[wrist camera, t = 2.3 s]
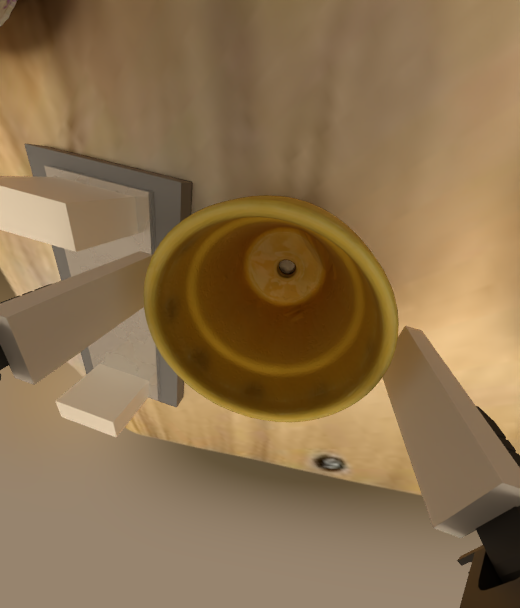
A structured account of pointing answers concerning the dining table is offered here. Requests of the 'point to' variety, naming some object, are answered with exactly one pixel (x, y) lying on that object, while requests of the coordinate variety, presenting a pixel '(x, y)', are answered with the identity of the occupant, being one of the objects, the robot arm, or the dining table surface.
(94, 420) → the mounted modules
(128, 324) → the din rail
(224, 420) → the dining table surface
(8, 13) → the paper bowls
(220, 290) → the plant pot
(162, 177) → the mounting plate
